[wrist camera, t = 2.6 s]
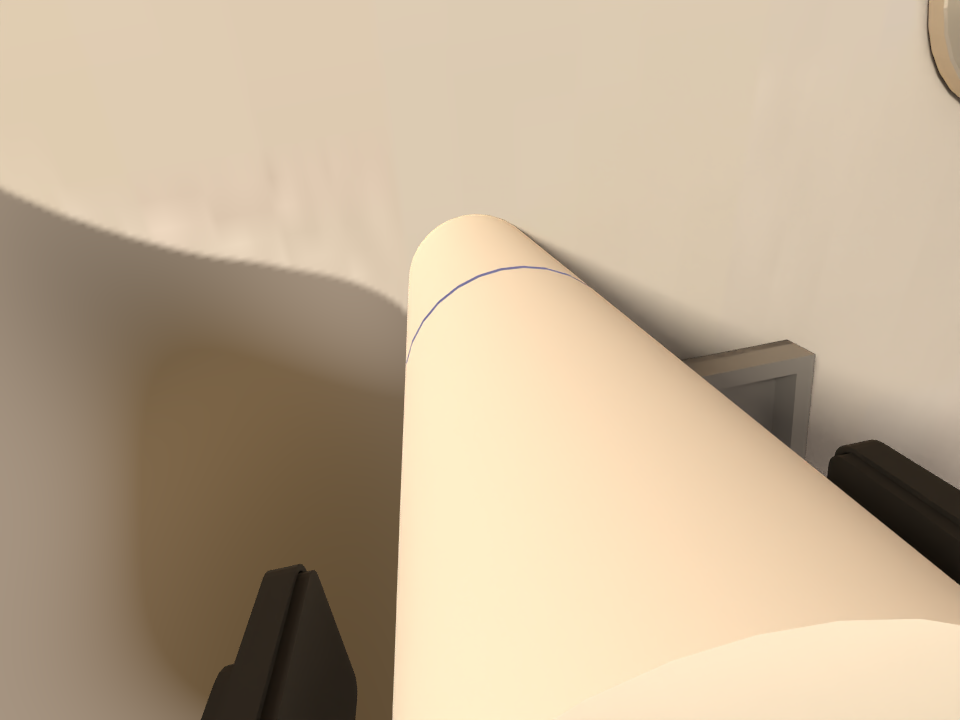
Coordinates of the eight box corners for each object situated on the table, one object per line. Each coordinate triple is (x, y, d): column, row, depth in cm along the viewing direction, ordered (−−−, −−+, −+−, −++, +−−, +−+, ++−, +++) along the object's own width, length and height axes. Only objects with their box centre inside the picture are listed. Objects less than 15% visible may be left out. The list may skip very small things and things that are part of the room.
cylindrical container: (531, 201, 27) (1206, 527, 4) (549, 330, 30) (1006, 958, 7) (394, 229, 27) (273, 751, 4) (425, 356, 30) (464, 1103, 7)
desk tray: (787, 339, 32) (815, 354, 30) (771, 543, 38) (794, 568, 36) (528, 390, 31) (537, 409, 29) (556, 590, 37) (565, 618, 35)
